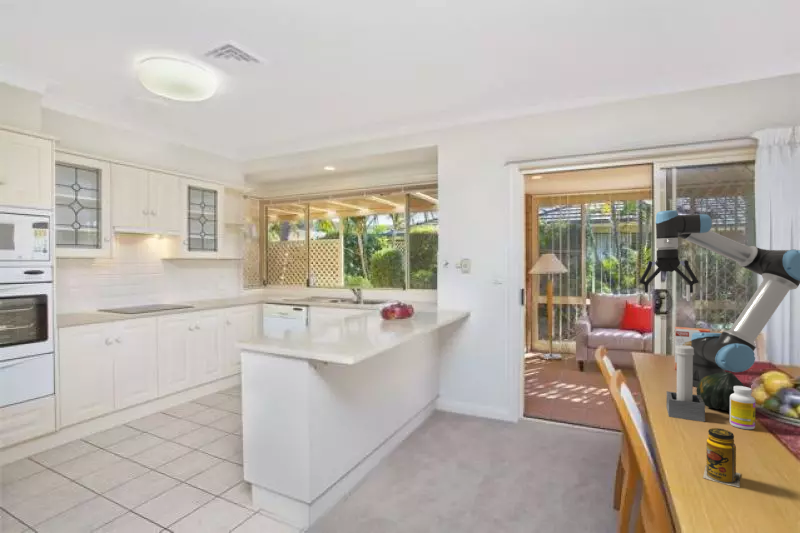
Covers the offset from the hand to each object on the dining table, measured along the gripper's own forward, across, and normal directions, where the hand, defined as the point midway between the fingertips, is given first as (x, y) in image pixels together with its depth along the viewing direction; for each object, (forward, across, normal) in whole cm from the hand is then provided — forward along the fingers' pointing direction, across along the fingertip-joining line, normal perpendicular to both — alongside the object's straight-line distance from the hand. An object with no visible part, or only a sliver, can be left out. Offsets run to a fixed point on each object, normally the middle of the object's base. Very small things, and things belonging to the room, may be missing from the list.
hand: (668, 300), depth 172 cm
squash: (+39, +14, -12) cm, 43 cm away
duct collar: (+38, +1, -24) cm, 45 cm away
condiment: (+38, +1, -70) cm, 80 cm away
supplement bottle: (+39, +16, -29) cm, 51 cm away
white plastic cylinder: (+38, 0, -24) cm, 45 cm away
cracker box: (+39, +15, +43) cm, 60 cm away
